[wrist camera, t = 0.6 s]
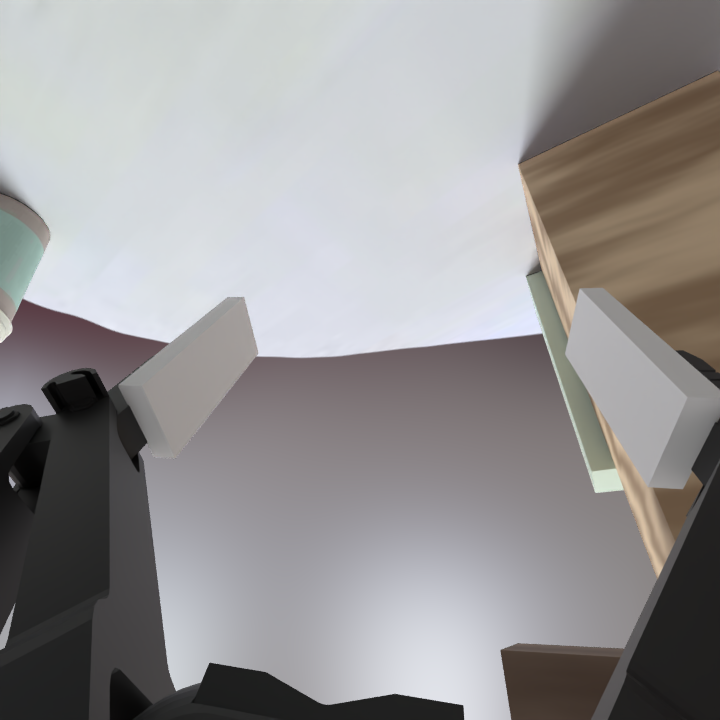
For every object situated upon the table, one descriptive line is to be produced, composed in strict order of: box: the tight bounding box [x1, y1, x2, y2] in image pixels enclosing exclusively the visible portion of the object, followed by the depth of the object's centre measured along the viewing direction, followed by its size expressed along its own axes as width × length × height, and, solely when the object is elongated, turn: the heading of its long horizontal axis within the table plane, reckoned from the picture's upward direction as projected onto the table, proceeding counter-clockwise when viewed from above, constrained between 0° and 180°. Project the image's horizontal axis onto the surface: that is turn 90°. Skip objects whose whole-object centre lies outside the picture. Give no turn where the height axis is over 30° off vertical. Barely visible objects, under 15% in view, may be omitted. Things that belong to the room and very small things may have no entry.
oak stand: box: [518, 71, 720, 579], centre depth 22 cm, size 12×12×30 cm
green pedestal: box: [526, 271, 624, 493], centre depth 33 cm, size 7×9×20 cm
